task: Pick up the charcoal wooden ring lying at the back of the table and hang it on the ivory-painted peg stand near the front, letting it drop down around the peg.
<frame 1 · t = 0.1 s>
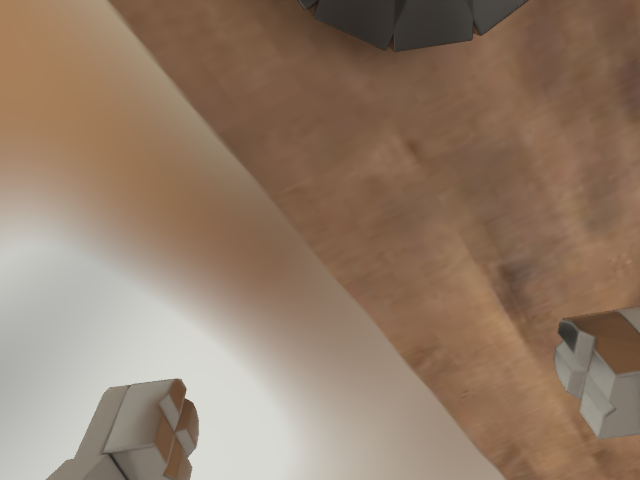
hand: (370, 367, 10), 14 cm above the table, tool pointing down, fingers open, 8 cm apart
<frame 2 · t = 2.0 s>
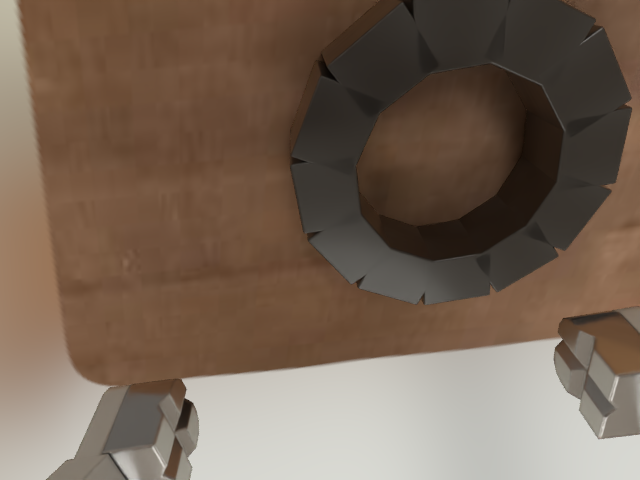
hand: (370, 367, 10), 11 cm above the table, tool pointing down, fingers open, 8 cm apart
ring: (436, 147, 19), on the table
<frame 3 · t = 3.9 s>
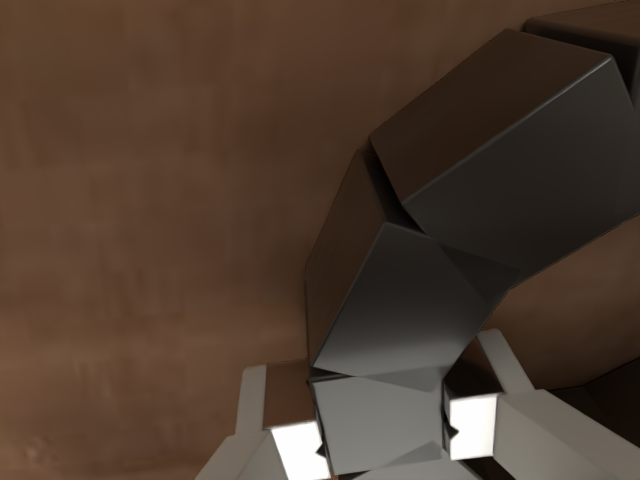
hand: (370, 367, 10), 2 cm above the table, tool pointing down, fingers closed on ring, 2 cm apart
ring: (564, 287, 11), on the table, touching gripper
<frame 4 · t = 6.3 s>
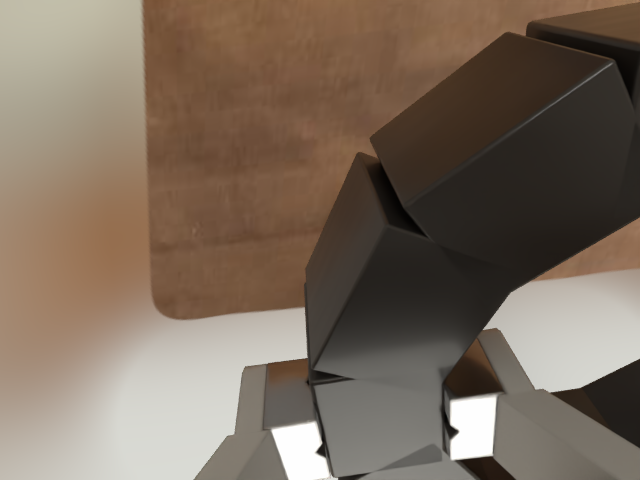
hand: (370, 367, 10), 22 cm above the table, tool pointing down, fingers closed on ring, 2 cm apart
ring: (563, 289, 11), point 21 cm above the table, touching gripper
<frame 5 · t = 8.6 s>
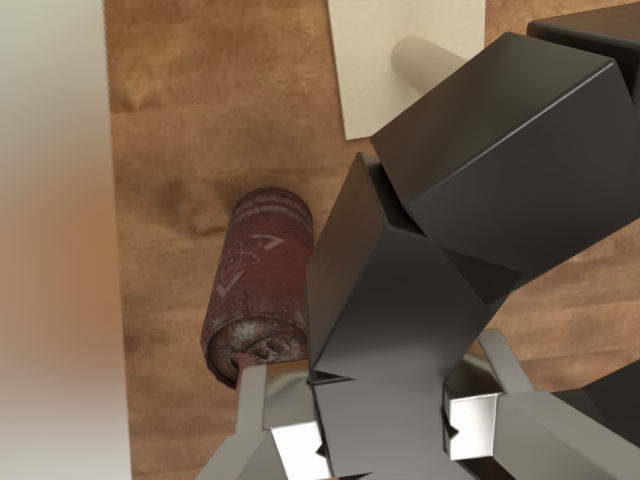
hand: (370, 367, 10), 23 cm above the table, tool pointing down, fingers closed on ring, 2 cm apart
ring: (563, 288, 11), point 21 cm above the table, touching gripper
can: (272, 221, 34), on the table
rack: (405, 53, 28), on the table
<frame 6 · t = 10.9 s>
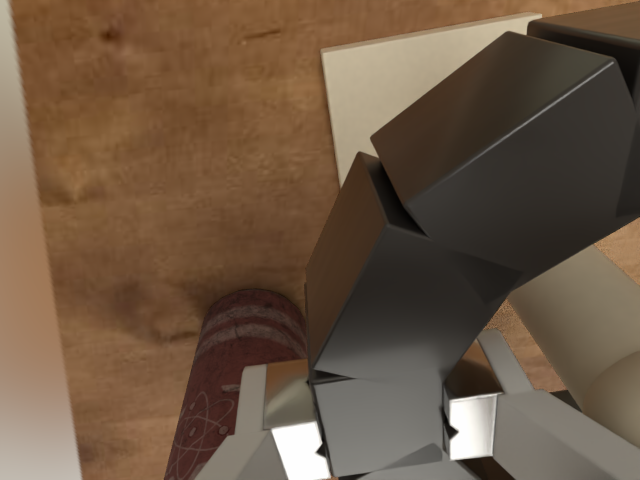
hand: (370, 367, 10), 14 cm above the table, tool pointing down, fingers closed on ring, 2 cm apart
ring: (563, 288, 11), point 12 cm above the table, touching gripper
can: (255, 323, 27), on the table
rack: (426, 132, 21), on the table
when the fingers open (14 cm above the table, at t = 13.7 s): ring drops 11 cm, resting on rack.
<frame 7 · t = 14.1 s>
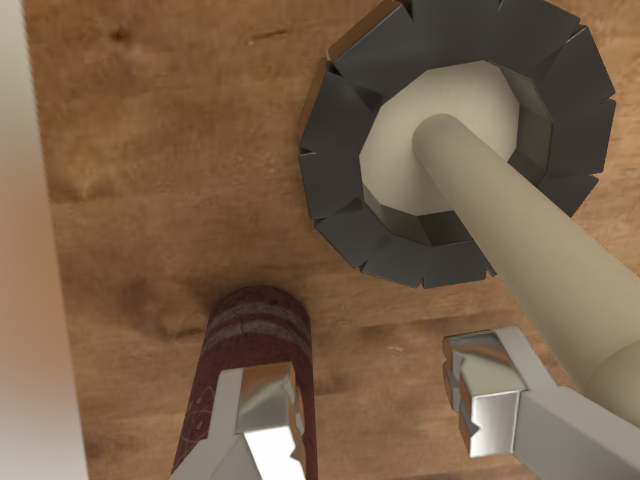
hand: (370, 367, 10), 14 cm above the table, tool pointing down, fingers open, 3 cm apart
ring: (434, 140, 20), point 1 cm above the table, touching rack
can: (260, 321, 27), on the table
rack: (430, 131, 21), on the table
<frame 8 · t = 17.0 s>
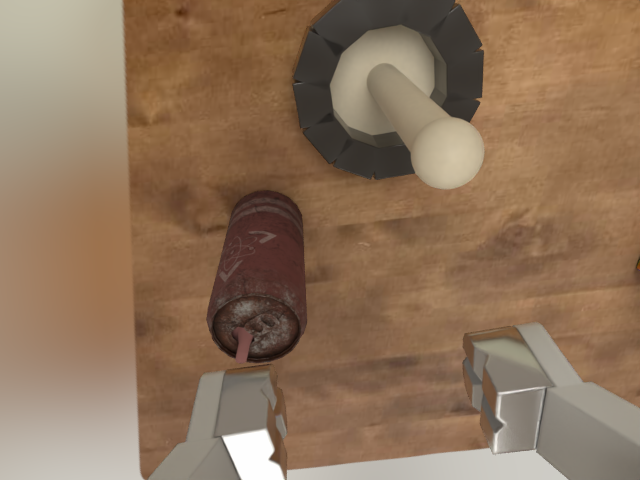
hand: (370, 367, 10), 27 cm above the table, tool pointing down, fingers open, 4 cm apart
ring: (381, 81, 31), point 1 cm above the table, touching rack
can: (267, 220, 38), on the table
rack: (380, 77, 32), on the table
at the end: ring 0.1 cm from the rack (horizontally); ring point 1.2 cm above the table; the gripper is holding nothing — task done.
